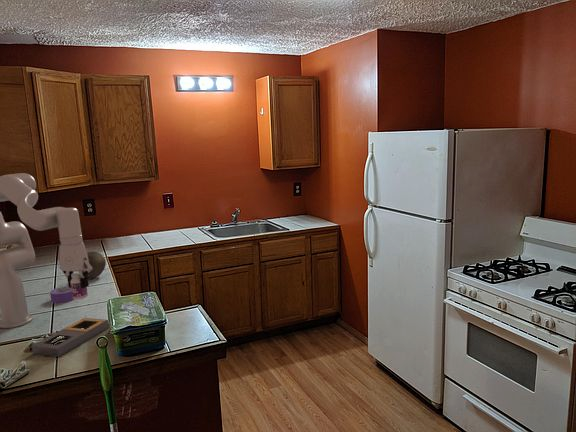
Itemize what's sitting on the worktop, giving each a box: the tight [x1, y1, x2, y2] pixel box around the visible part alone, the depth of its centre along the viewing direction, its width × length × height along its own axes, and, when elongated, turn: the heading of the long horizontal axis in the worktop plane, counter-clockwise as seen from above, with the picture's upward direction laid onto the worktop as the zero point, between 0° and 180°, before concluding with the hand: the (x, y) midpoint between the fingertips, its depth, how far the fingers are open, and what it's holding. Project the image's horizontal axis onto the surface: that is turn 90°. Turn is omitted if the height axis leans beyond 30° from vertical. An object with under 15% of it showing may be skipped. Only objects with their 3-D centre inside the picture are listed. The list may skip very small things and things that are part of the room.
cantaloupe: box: [82, 251, 107, 280], centre depth 247 cm, size 14×14×15 cm
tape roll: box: [49, 285, 75, 304], centre depth 215 cm, size 12×12×5 cm
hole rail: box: [31, 317, 110, 358], centre depth 167 cm, size 12×25×3 cm, turn 161°
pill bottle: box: [70, 271, 89, 301], centre depth 170 cm, size 5×5×10 cm
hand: (78, 286), depth 170 cm, fingers closed on pill bottle, 5 cm apart
